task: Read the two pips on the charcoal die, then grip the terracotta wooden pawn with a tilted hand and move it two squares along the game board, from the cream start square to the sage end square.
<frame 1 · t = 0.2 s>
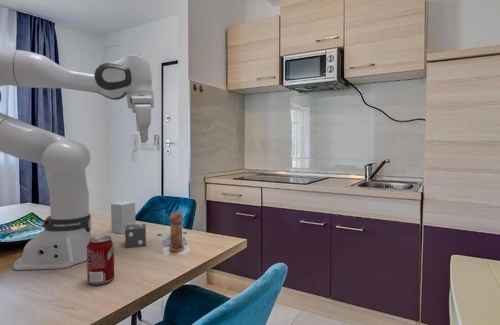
hand: (144, 141, 108), 39 cm above the table, tool pointing down, fingers open, 8 cm apart
soda can: (101, 281, 86), on the table
game board: (174, 243, 119), on the table
supplement box: (123, 231, 136), on the table
pawn: (176, 250, 110), resting on game board
die: (136, 244, 117), on the table
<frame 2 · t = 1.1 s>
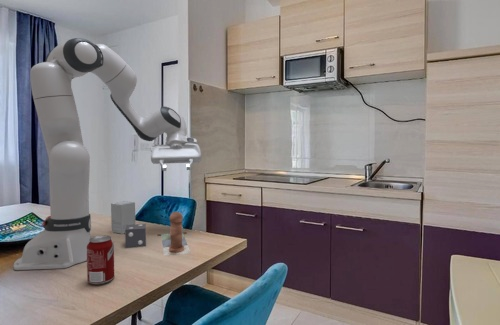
hand: (176, 169, 123), 28 cm above the table, tool tilted 45°, fingers open, 8 cm apart
nothing on the table moved.
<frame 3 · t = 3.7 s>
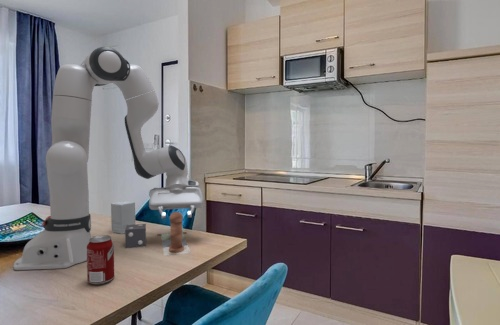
hand: (176, 217, 114), 11 cm above the table, tool tilted 45°, fingers open, 8 cm apart
nothing on the table moved.
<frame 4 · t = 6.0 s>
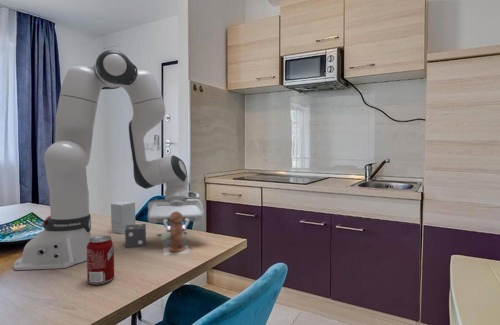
hand: (176, 231, 109), 7 cm above the table, tool tilted 45°, fingers closed on pawn, 4 cm apart
pawn: (176, 250, 110), resting on game board, touching gripper
everything else where it was.
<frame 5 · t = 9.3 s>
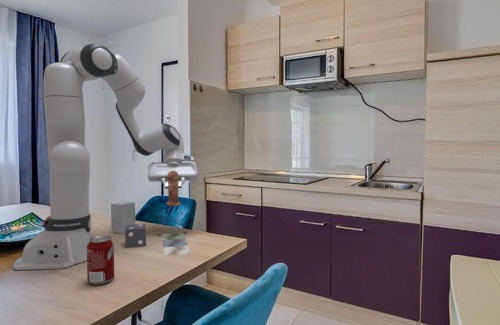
hand: (173, 187, 124), 21 cm above the table, tool tilted 45°, fingers closed on pawn, 4 cm apart
pawn: (173, 204, 125), point 14 cm above the table, touching gripper
everything else where it was.
when the fingers open (9 cm above the table, at t = 12.6 s): pawn drops 1 cm, resting on game board.
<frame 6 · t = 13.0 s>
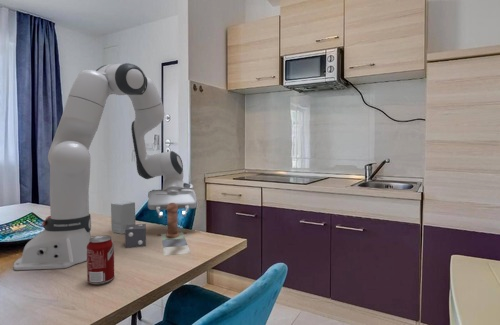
hand: (172, 216, 126), 9 cm above the table, tool tilted 45°, fingers open, 8 cm apart
pawn: (172, 236, 127), resting on game board
everything else where it was.
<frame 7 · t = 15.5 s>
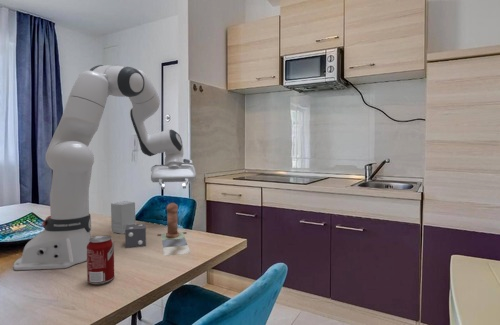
hand: (173, 188, 138), 19 cm above the table, tool tilted 45°, fingers open, 8 cm apart
nothing on the table moved.
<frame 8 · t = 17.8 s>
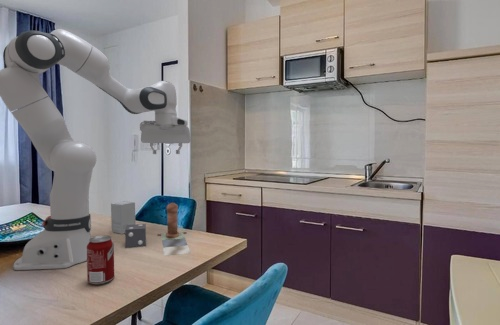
hand: (166, 154, 130), 34 cm above the table, tool pointing down, fingers open, 8 cm apart
nothing on the table moved.
at the end: pawn inside the target area (0.1 cm from its centre), resting on game board; pawn tilted 0°; the gripper is holding nothing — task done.
